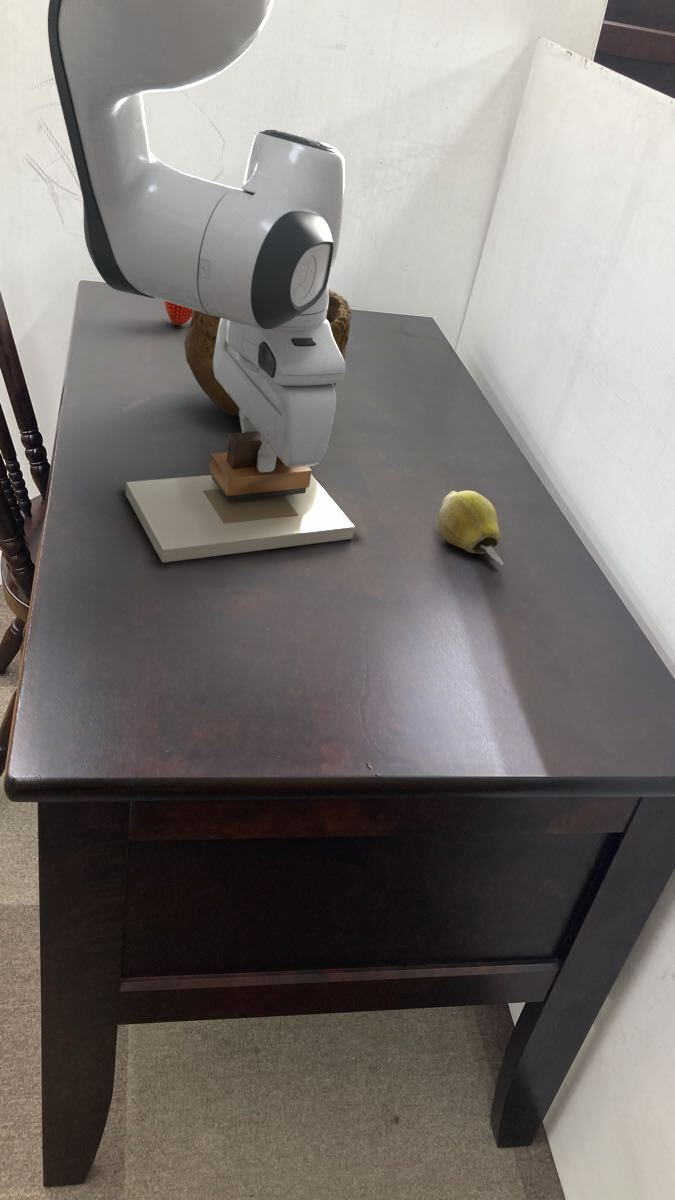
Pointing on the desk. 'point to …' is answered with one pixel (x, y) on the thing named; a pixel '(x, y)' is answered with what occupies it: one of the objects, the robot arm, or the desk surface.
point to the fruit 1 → (178, 313)
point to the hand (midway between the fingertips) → (257, 460)
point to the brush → (253, 472)
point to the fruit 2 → (470, 523)
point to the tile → (231, 518)
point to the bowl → (204, 340)
